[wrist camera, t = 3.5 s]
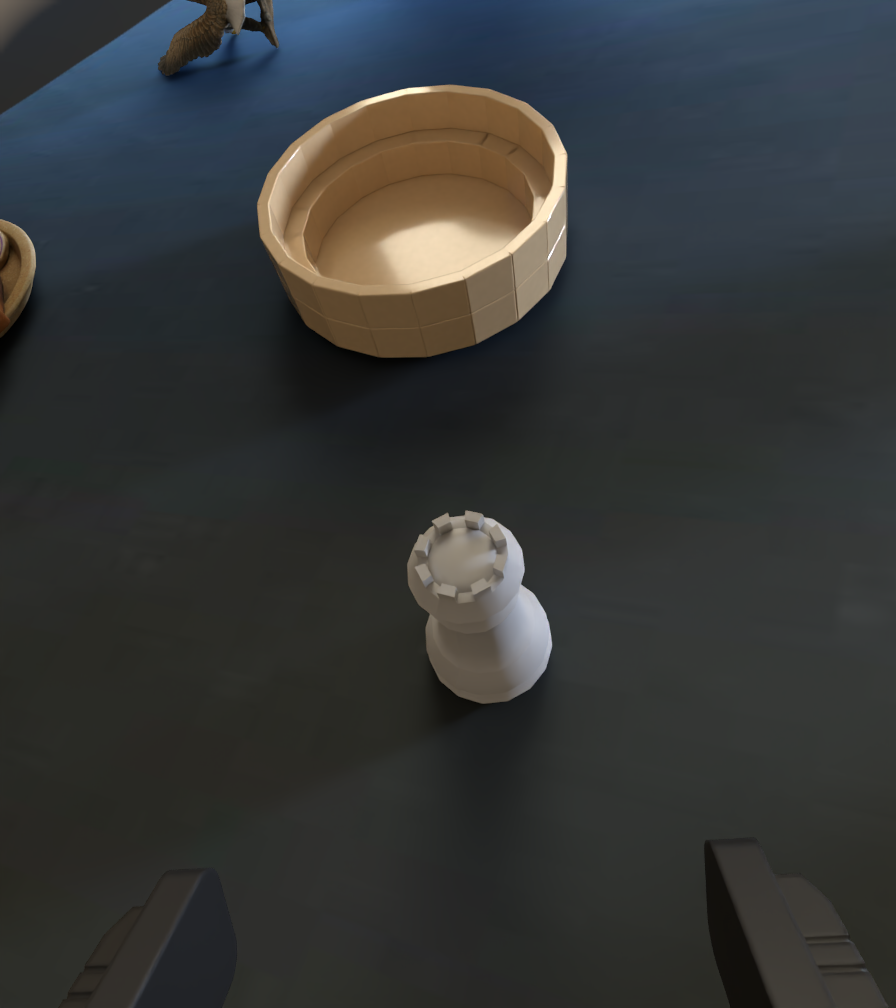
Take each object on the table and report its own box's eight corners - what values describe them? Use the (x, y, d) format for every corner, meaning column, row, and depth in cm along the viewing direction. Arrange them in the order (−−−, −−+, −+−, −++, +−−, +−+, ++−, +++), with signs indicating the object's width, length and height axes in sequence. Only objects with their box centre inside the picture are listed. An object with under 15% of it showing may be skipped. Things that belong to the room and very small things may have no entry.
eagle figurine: (284, -16, 49) (155, -20, 49) (261, -95, 42) (110, -101, 42) (285, 96, 50) (157, 93, 50) (263, 37, 43) (113, 32, 42)
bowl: (571, 158, 38) (571, 73, 34) (561, 365, 31) (560, 289, 27) (320, 174, 40) (294, 97, 36) (263, 368, 34) (222, 299, 30)
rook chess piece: (517, 730, 24) (495, 665, 17) (407, 670, 25) (346, 588, 18) (573, 618, 25) (574, 516, 18) (466, 568, 27) (430, 457, 20)
